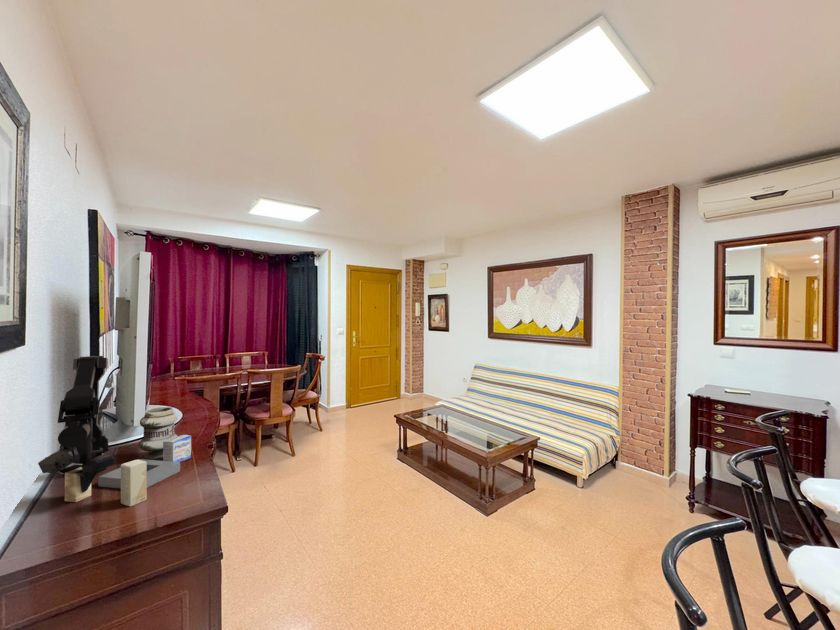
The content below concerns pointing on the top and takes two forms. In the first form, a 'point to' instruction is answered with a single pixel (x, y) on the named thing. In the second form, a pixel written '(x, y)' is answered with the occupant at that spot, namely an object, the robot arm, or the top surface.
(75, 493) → the maple block
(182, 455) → the medicine box
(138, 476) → the box
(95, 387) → the robot arm
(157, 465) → the pocket plate
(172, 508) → the top surface
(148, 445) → the apothecary jar
